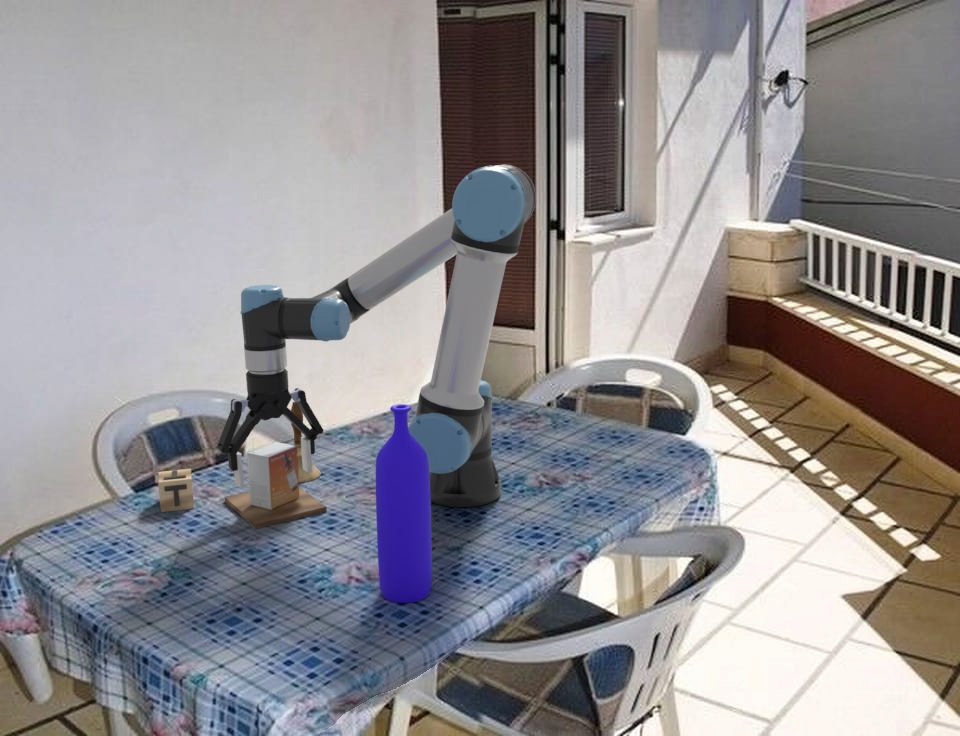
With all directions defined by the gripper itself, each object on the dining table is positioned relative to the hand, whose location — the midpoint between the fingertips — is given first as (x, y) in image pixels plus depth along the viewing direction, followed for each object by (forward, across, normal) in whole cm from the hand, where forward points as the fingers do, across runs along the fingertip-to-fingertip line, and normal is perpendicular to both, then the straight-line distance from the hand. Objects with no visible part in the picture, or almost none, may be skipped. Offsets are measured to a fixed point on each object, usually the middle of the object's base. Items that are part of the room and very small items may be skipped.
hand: (274, 478), depth 183 cm
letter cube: (+6, +15, -12) cm, 20 cm away
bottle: (+6, -3, +45) cm, 45 cm away
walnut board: (+6, 0, 0) cm, 6 cm away
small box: (+5, 0, 0) cm, 5 cm away
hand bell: (+6, -11, -13) cm, 18 cm away
